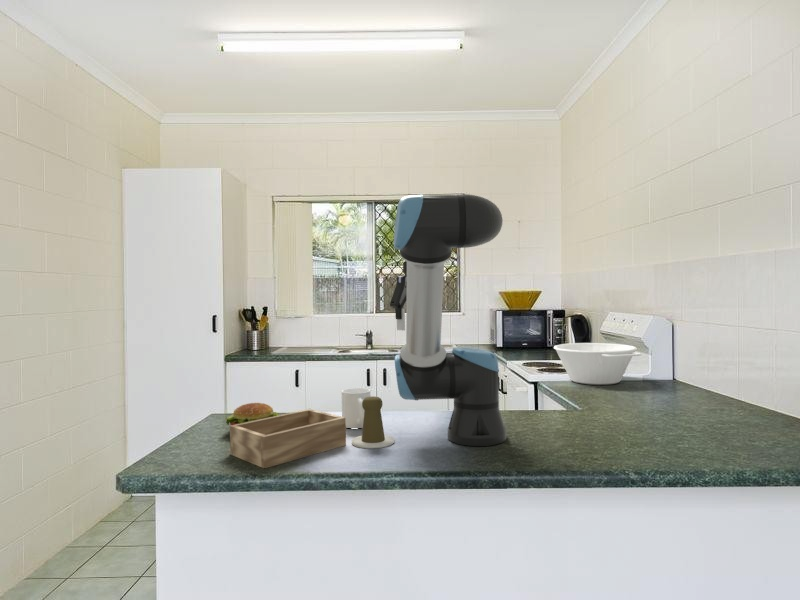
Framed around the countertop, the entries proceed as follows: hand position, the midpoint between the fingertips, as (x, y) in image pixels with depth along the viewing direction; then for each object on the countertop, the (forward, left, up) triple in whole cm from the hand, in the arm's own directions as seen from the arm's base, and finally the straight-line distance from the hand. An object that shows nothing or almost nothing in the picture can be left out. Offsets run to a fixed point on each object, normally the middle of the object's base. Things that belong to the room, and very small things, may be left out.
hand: (416, 328), depth 166 cm
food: (+22, +45, -27) cm, 57 cm away
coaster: (-12, +30, -27) cm, 42 cm away
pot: (-17, -88, -27) cm, 94 cm away
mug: (+2, +23, -27) cm, 35 cm away
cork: (-12, +30, -26) cm, 42 cm away
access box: (-1, +48, -27) cm, 55 cm away
